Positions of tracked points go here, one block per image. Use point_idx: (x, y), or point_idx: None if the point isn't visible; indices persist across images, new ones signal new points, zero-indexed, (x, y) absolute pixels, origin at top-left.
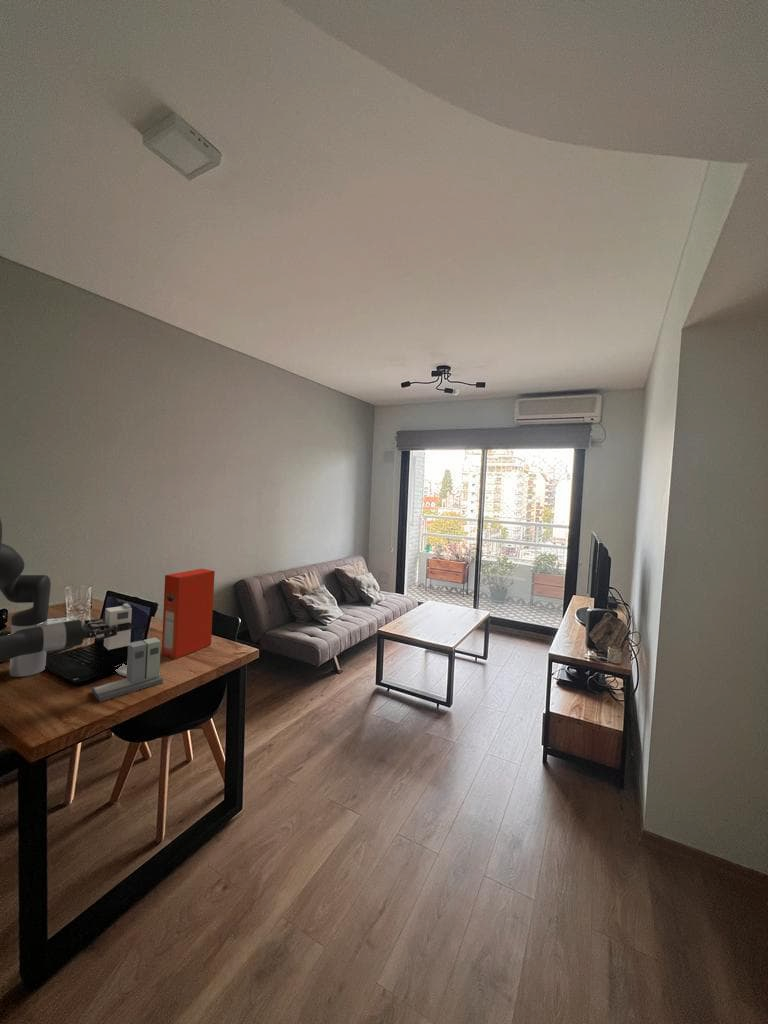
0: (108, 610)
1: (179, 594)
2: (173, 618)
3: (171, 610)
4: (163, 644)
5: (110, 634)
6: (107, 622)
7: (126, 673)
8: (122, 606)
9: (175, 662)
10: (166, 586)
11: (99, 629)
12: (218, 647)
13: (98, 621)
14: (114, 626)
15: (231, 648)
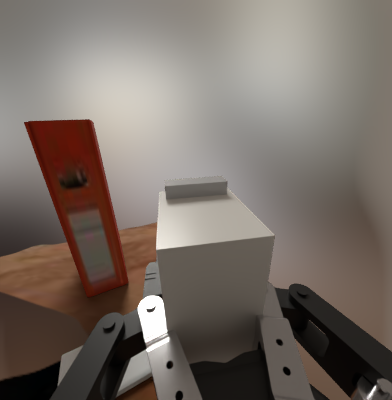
0: (231, 239)
1: (100, 163)
2: (100, 220)
3: (88, 207)
4: (86, 279)
5: (314, 339)
6: (222, 315)
7: (127, 382)
8: (169, 199)
9: (140, 285)
10: (45, 155)
11: (321, 394)
12: (136, 237)
13: (174, 374)
14: (275, 294)
15: (151, 229)
